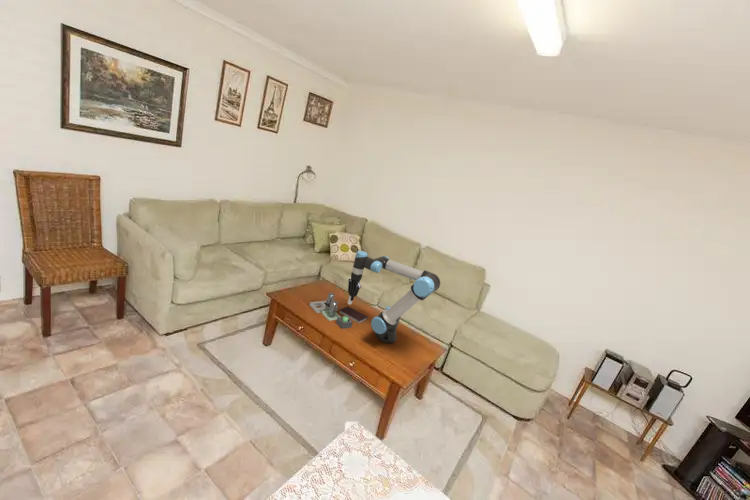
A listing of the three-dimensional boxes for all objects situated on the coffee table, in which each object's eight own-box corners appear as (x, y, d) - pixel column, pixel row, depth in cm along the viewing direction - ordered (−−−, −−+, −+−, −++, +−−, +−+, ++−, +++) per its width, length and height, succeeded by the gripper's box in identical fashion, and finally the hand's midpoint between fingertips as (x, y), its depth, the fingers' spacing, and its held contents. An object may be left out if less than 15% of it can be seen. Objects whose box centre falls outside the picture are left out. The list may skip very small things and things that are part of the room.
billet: (335, 317, 258) (339, 303, 254) (329, 318, 255) (333, 303, 251) (332, 314, 261) (335, 299, 258) (326, 314, 258) (329, 300, 255)
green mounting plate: (340, 319, 257) (340, 317, 257) (328, 321, 251) (329, 318, 250) (332, 312, 265) (333, 309, 265) (321, 313, 259) (321, 311, 258)
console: (351, 328, 250) (352, 322, 248) (341, 329, 245) (343, 323, 243) (345, 322, 256) (346, 316, 254) (336, 323, 251) (337, 317, 249)
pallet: (337, 311, 269) (337, 307, 268) (316, 313, 257) (317, 309, 257) (329, 303, 277) (330, 300, 277) (309, 305, 266) (310, 302, 265)
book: (347, 309, 278) (348, 305, 277) (367, 319, 269) (368, 315, 268) (338, 313, 267) (339, 309, 266) (358, 324, 258) (359, 320, 258)
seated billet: (332, 309, 270) (336, 295, 267) (327, 309, 267) (330, 295, 264) (329, 306, 274) (332, 292, 270) (323, 306, 270) (327, 292, 267)
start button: (347, 324, 250) (349, 318, 248) (343, 325, 247) (344, 319, 246) (344, 322, 252) (346, 316, 251) (340, 322, 250) (341, 316, 249)
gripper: (366, 276, 236) (359, 307, 243) (356, 269, 246) (349, 299, 252) (357, 277, 232) (350, 308, 238) (347, 269, 241) (340, 299, 247)
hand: (349, 303), depth 245 cm, fingers closed
